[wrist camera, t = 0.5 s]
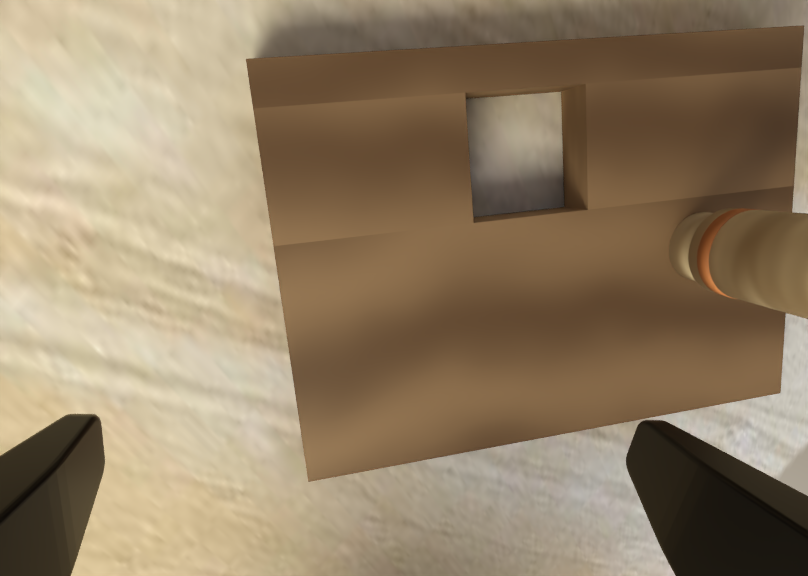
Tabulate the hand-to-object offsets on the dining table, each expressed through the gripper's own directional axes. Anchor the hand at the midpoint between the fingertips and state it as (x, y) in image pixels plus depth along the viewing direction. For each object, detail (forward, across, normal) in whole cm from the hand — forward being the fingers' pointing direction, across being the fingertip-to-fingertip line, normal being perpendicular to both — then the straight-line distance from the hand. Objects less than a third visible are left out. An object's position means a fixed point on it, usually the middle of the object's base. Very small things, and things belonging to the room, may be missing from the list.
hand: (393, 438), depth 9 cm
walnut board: (+14, -9, +1) cm, 17 cm away
